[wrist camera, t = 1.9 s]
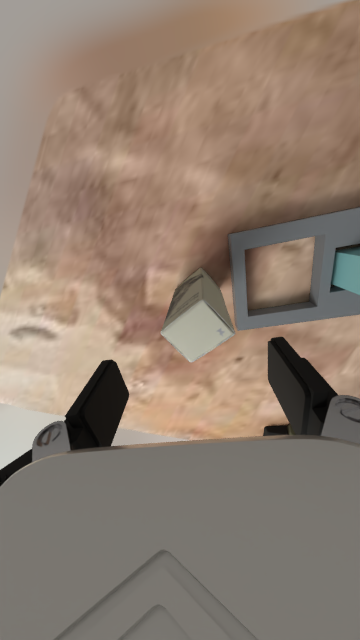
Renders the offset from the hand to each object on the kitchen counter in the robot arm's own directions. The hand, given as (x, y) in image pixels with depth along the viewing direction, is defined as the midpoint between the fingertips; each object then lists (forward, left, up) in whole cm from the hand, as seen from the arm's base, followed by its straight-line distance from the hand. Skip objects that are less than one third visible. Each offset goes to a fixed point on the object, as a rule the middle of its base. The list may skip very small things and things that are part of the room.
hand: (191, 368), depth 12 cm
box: (0, 0, -18) cm, 18 cm away
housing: (-14, 0, -18) cm, 23 cm away
